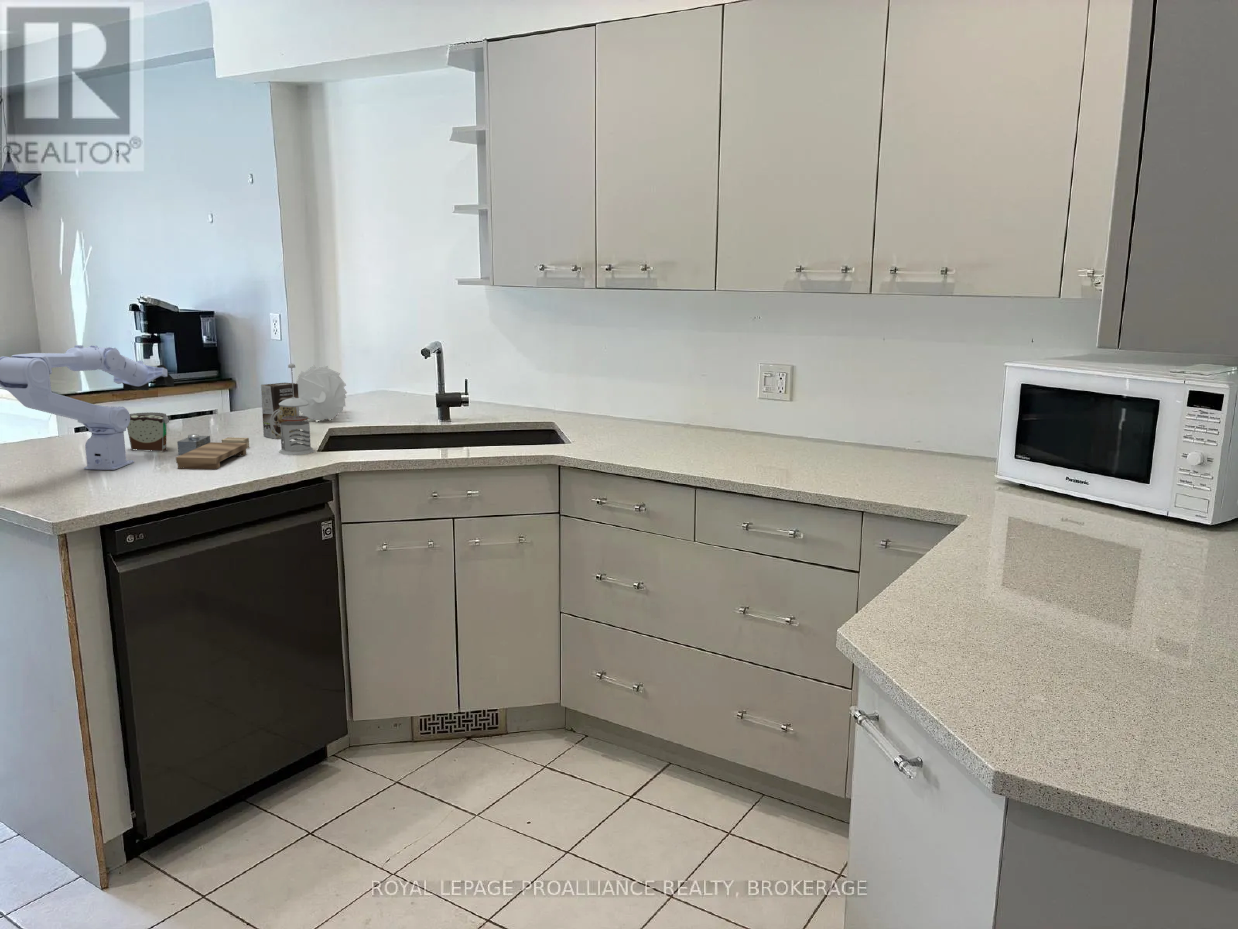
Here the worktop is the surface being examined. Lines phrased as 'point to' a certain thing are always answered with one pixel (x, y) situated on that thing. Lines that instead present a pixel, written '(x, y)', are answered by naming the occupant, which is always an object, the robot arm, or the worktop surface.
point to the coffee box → (277, 406)
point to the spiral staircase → (321, 393)
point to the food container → (148, 431)
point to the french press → (294, 428)
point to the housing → (192, 443)
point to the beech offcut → (236, 440)
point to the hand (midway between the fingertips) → (160, 384)
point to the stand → (210, 455)
